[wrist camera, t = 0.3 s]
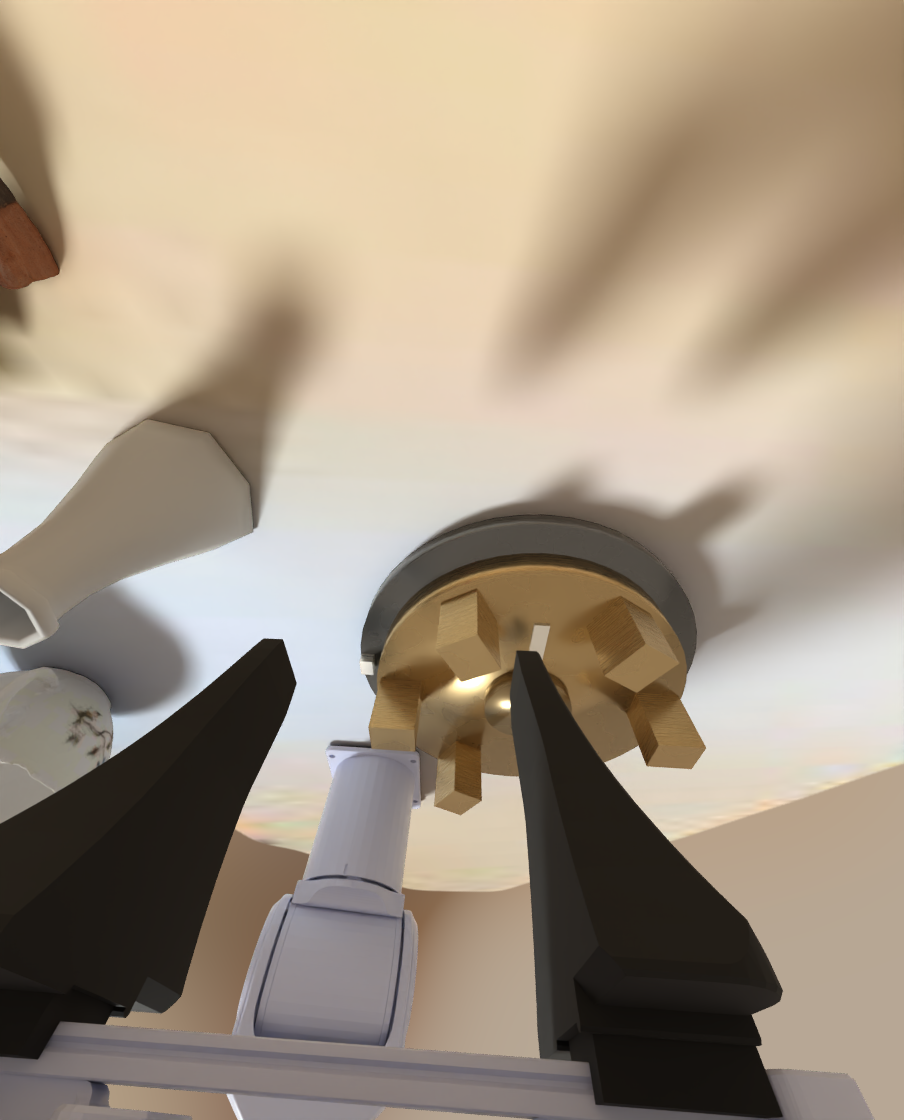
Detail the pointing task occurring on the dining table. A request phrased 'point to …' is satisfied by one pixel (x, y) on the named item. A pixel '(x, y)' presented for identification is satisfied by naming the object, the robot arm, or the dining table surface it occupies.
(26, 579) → the flask
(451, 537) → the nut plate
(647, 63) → the dining table surface
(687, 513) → the dining table surface
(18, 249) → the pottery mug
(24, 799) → the teacup
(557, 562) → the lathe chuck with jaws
